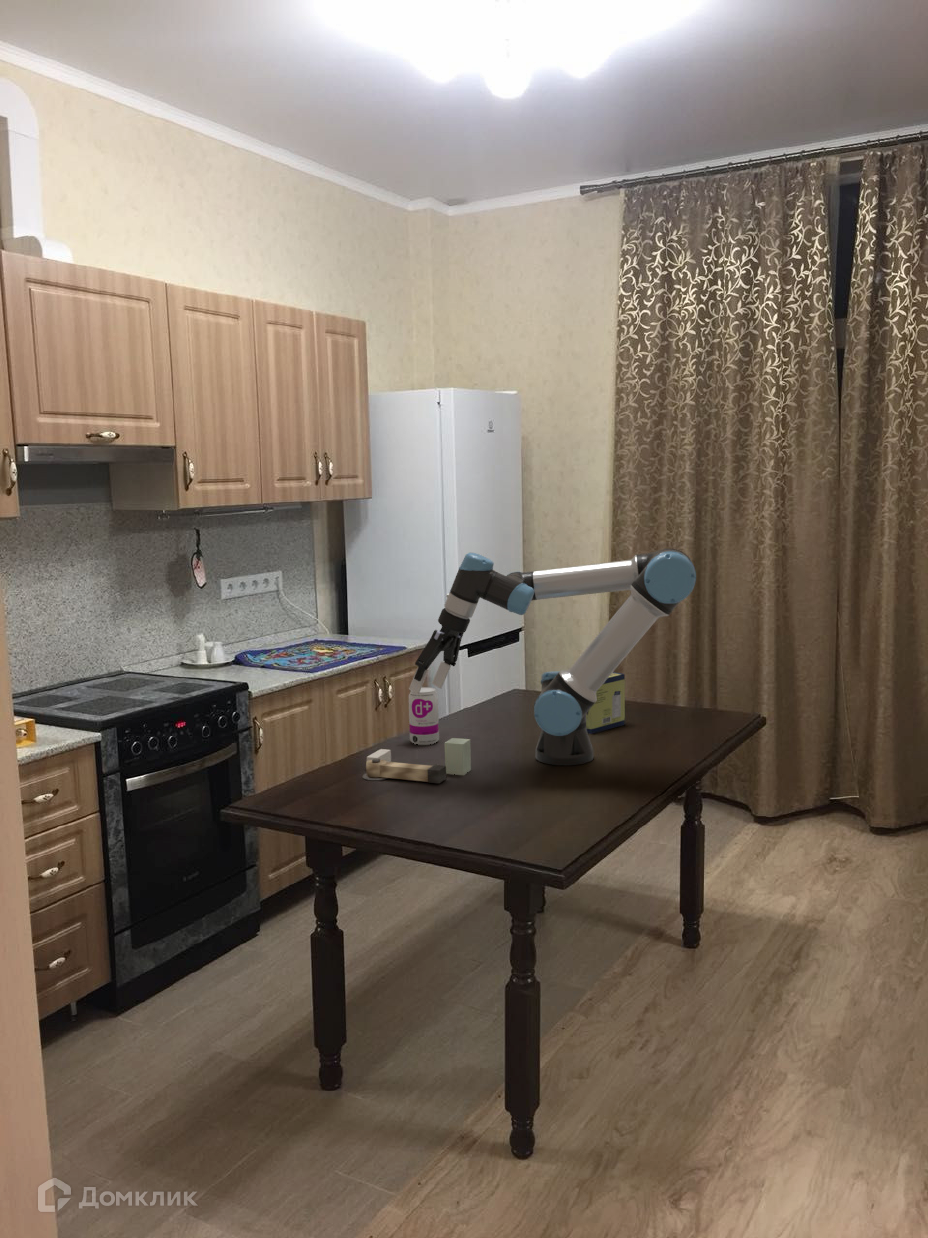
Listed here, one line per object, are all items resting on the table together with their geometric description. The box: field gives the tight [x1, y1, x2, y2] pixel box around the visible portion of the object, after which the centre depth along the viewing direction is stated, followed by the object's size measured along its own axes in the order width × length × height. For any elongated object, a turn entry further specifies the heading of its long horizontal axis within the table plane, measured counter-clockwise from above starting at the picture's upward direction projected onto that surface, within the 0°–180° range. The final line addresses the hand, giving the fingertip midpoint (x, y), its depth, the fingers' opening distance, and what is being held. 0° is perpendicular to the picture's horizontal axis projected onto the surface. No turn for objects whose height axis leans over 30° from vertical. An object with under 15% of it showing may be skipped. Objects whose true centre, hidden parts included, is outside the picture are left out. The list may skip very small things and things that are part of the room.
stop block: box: [366, 748, 392, 762], centre depth 271 cm, size 3×8×3 cm, turn 158°
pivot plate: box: [362, 772, 388, 781], centre depth 261 cm, size 7×7×1 cm
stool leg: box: [365, 759, 447, 784], centre depth 258 cm, size 20×5×4 cm, turn 68°
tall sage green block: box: [444, 737, 472, 776], centre depth 263 cm, size 5×5×8 cm
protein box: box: [586, 671, 626, 735], centre depth 306 cm, size 10×16×16 cm
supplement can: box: [408, 686, 440, 746], centre depth 292 cm, size 8×8×15 cm
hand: (425, 689), depth 264 cm, fingers open, 13 cm apart
